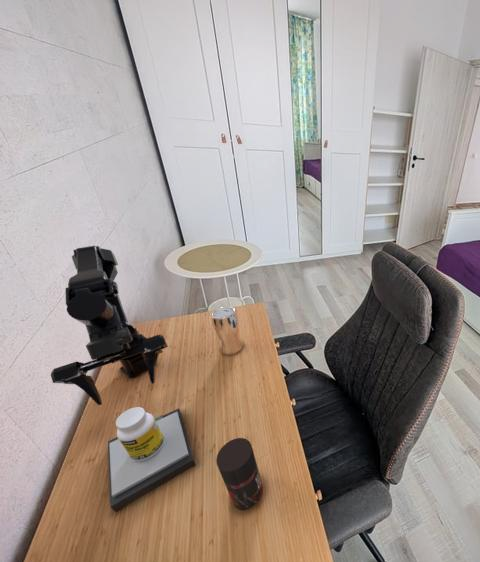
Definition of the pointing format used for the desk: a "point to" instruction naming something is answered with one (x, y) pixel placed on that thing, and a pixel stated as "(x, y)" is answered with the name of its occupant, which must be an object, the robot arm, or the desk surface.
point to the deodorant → (240, 473)
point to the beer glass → (227, 329)
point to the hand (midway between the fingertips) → (127, 393)
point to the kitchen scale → (149, 462)
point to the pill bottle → (139, 433)
